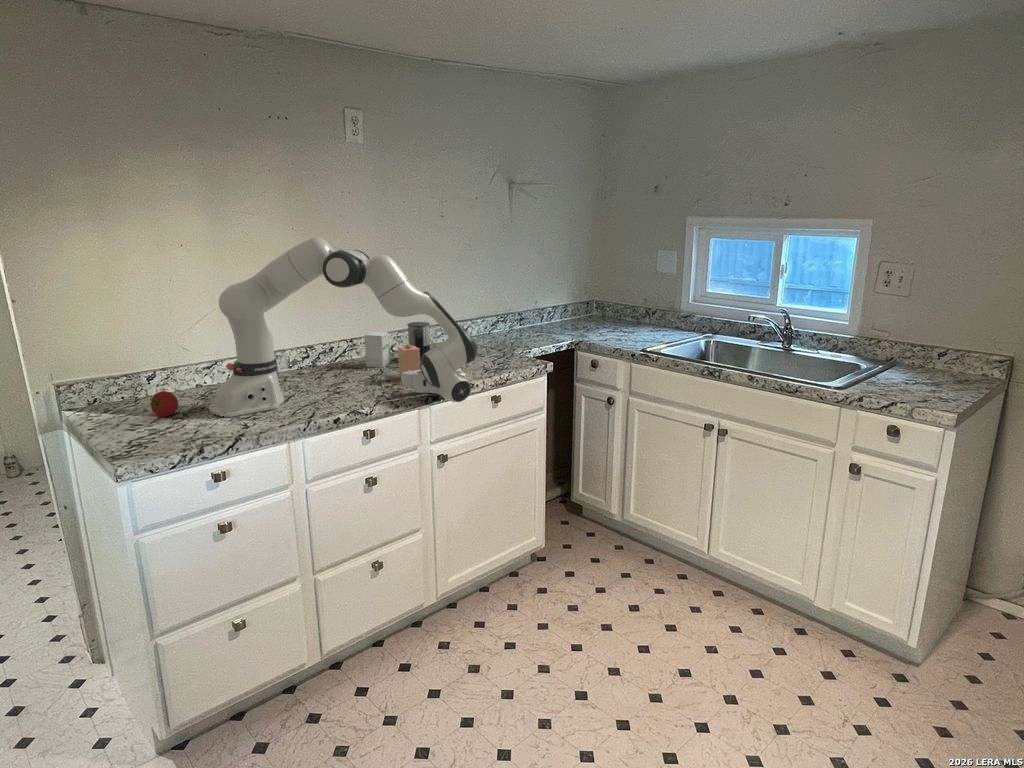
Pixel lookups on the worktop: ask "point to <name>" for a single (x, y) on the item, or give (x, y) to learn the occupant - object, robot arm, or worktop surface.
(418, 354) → the tan tall prism
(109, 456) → the worktop surface
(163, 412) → the tomato
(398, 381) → the tile
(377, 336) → the supplement box
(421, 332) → the milk frother
